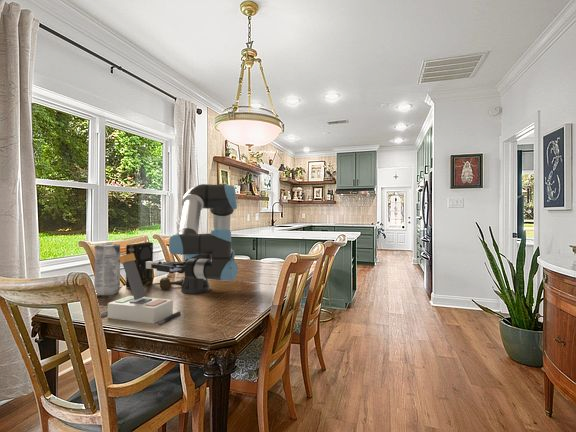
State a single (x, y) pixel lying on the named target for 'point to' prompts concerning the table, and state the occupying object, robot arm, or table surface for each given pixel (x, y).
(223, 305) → the table surface
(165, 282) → the kendama
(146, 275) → the voltmeter
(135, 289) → the lever
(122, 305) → the breaker housing
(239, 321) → the table surface
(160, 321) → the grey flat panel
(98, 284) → the juice carton
